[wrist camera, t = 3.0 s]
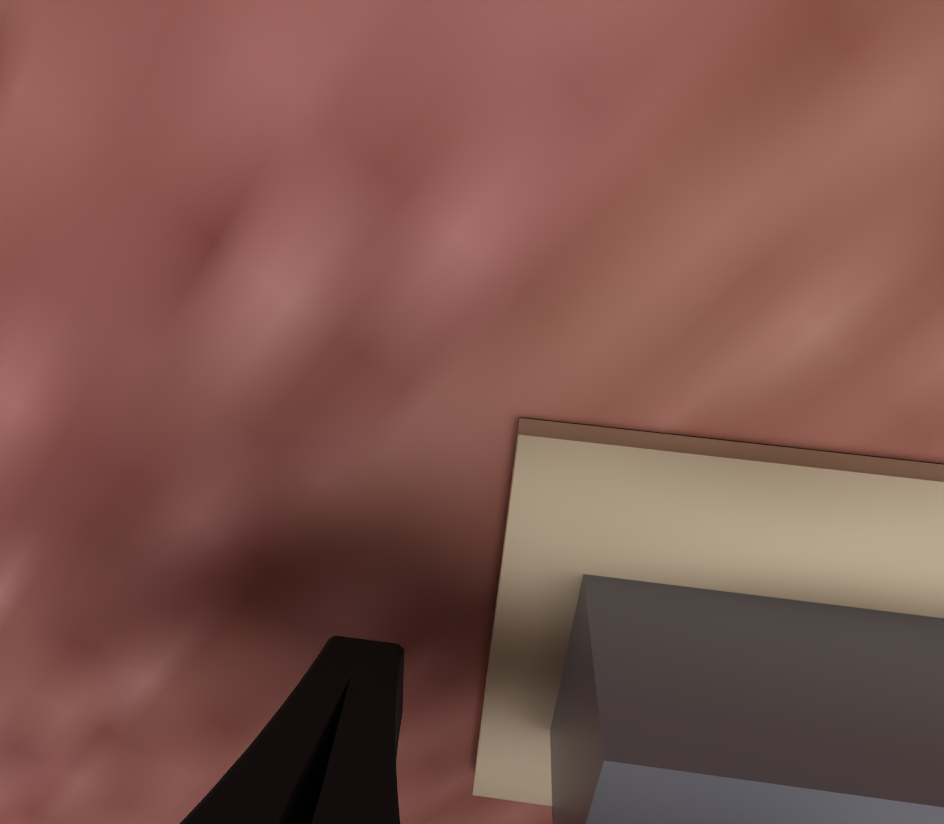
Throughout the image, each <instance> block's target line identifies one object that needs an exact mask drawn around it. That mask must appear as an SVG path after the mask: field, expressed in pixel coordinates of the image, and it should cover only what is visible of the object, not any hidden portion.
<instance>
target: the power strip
mask: <svg viewBox="0 0 944 824" xmlns="http://www.w3.org/2000/svg"><path fill="white" fill-rule="evenodd" d="M550 748H551V784H552V819H553V824H944V618H938V617H930V616H921V615H913V614H905V613H897V612H889V611H881V610H873V609H864V608H856V607H848V606H840V605H832V604H824V603H815V602H807V601H799V600H791V599H783V598H775V597H767V596H758V595H750V594H742V593H734V592H726V591H718V590H710V589H701V588H693V587H685V586H677V585H669V584H661V583H653V582H644V581H636V580H628V579H620V578H612V577H604V576H596V575H587V574H583V578H582V583H581V587H580V592H579V597H578V601H577V606H576V611H575V616H574V620H573V625H572V630H571V634H570V639H569V644H568V649H567V653H566V658H565V663H564V667H563V672H562V677H561V681H560V686H559V691H558V696H557V700H556V705H555V710H554V714H553V719H552V724H551V728H550Z"/></svg>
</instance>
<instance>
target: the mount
mask: <svg viewBox="0 0 944 824" xmlns="http://www.w3.org/2000/svg"><path fill="white" fill-rule="evenodd" d="M583 574H587V575H596V576H604V577H612V578H620V579H628V580H636V581H644V582H653V583H661V584H669V585H677V586H685V587H693V588H701V589H710V590H718V591H726V592H734V593H742V594H750V595H758V596H767V597H775V598H783V599H791V600H799V601H807V602H815V603H824V604H832V605H840V606H848V607H856V608H864V609H873V610H881V611H889V612H897V613H905V614H913V615H921V616H930V617H938V618H944V465H942V464H933V463H924V462H915V461H906V460H896V459H887V458H878V457H869V456H860V455H851V454H842V453H833V452H824V451H815V450H806V449H797V448H788V447H778V446H769V445H760V444H751V443H742V442H733V441H724V440H715V439H706V438H697V437H688V436H679V435H670V434H660V433H651V432H642V431H633V430H624V429H615V428H606V427H597V426H588V425H579V424H570V423H561V422H552V421H542V420H533V419H524V418H519V426H518V433H517V441H516V449H515V457H514V465H513V473H512V481H511V488H510V496H509V504H508V512H507V520H506V528H505V536H504V544H503V551H502V559H501V567H500V575H499V583H498V591H497V599H496V607H495V614H494V622H493V630H492V638H491V646H490V654H489V662H488V670H487V677H486V685H485V693H484V701H483V709H482V717H481V725H480V732H479V740H478V748H477V756H476V764H475V772H474V784H473V795H476V796H483V797H490V798H497V799H504V800H511V801H518V802H525V803H532V804H539V805H546V806H552V784H551V748H550V728H551V724H552V719H553V714H554V710H555V705H556V700H557V696H558V691H559V686H560V681H561V677H562V672H563V667H564V663H565V658H566V653H567V649H568V644H569V639H570V634H571V630H572V625H573V620H574V616H575V611H576V606H577V601H578V597H579V592H580V587H581V583H582V578H583Z"/></svg>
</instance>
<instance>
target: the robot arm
mask: <svg viewBox="0 0 944 824" xmlns="http://www.w3.org/2000/svg"><path fill="white" fill-rule="evenodd" d="M403 672H404V649H403V648H402V647H401V646H400V645H399V644H394V643H387V642H379V641H371V640H364V639H356V638H348V637H341V636H333V637H332V638H330V639H329V640H328V641H327V643H326V644H325V646H324V648H323V649H322V651H321V652H320V654H319V655H318V657H317V658H316V660H315V661H314V662H313V664H312V665H311V667H310V668H309V670H308V671H307V672H306V674H305V675H304V677H303V678H302V679H301V681H300V682H299V684H298V685H297V686H296V688H295V689H294V690H293V692H292V693H291V694H290V696H289V697H288V698H287V700H286V701H285V702H284V704H283V705H282V706H281V707H280V709H279V710H278V711H277V712H276V714H275V715H274V716H273V717H272V719H271V720H270V721H269V722H268V724H267V725H266V726H265V727H264V729H263V730H262V731H261V732H260V734H259V735H258V736H257V738H256V739H255V740H254V741H253V742H252V744H251V745H250V746H249V747H248V748H247V750H246V751H245V752H244V753H243V754H242V755H241V756H240V758H239V759H238V760H237V761H236V762H235V763H234V764H233V766H232V767H231V768H230V769H229V770H228V771H227V772H226V774H225V775H224V776H223V777H222V778H221V779H220V781H219V782H218V783H217V784H216V785H215V786H214V787H213V789H212V790H211V791H210V792H209V793H208V794H207V795H206V796H205V797H204V798H203V799H202V801H201V802H200V803H199V804H198V805H197V806H196V807H195V808H194V809H193V810H192V811H191V812H190V813H189V814H188V816H187V817H186V818H185V819H184V820H183V821H182V822H181V823H180V824H400V817H399V805H398V793H397V777H396V756H397V747H398V738H399V731H400V725H401V718H402V707H403Z"/></svg>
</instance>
